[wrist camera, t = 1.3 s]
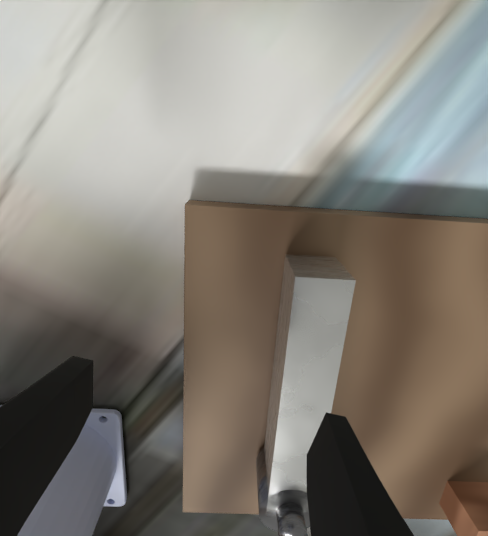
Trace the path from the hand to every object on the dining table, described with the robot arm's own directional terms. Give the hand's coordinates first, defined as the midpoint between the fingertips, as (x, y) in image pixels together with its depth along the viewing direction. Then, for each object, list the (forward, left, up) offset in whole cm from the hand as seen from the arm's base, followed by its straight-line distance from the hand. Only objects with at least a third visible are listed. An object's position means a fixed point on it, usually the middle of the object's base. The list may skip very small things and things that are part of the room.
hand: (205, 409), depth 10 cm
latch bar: (+4, -4, -7) cm, 9 cm away
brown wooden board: (+9, -5, -9) cm, 13 cm away
